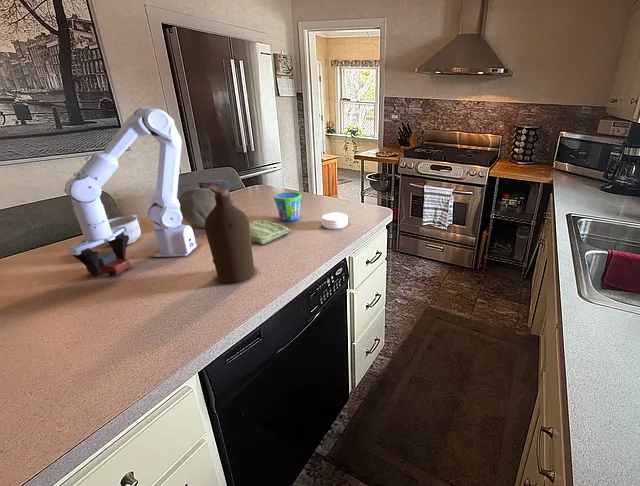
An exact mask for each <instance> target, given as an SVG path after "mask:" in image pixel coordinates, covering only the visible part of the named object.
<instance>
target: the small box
mask: <svg viewBox="0 0 640 486" xmlns="http://www.w3.org/2000/svg"><path fill="white" fill-rule="evenodd" d="M228 181H229V180H225V179H224V180H223V179H210V178H207V179H205V180H202V181H199V182H198V186H199V188H206V189H209V190H211V191H212V192H213V193H214V190H216V189H223V188H224V189H228V194H229V196H230V202H231V203H232V199H231V194H230V187H229V183H228ZM214 194H215V193H214Z"/></svg>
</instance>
